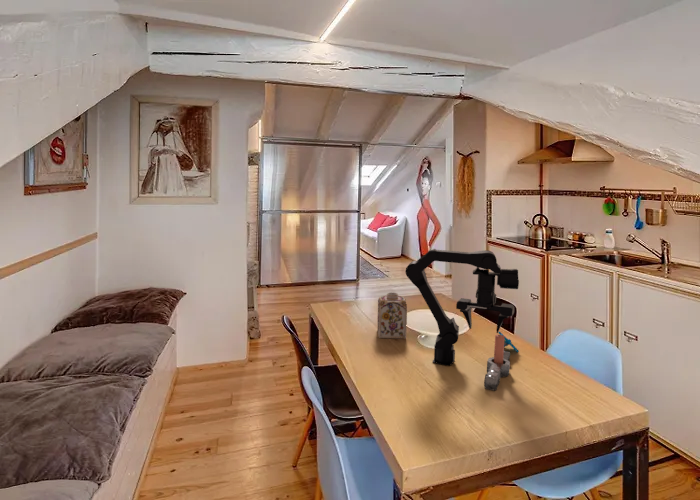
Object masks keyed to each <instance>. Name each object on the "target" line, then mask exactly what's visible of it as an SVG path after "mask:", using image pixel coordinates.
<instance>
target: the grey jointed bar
mask: <svg viewBox="0 0 700 500" xmlns="http://www.w3.org/2000/svg"><path fill="white" fill-rule="evenodd" d="M510 357H511V352H510V351H505V350H504V356H503V364H496V363H494V356H493V357H489V358H488V359H487V361H486V373H485V376H484V381H483V387H484V389H485V390H489V391H490V390H491V391H494V392H495V391H497V390H498V387H499V385H500V384H501V383H500V382H501V378H507V377H509V376H510V370H511V369H510V367H511V362H510Z"/></svg>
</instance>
